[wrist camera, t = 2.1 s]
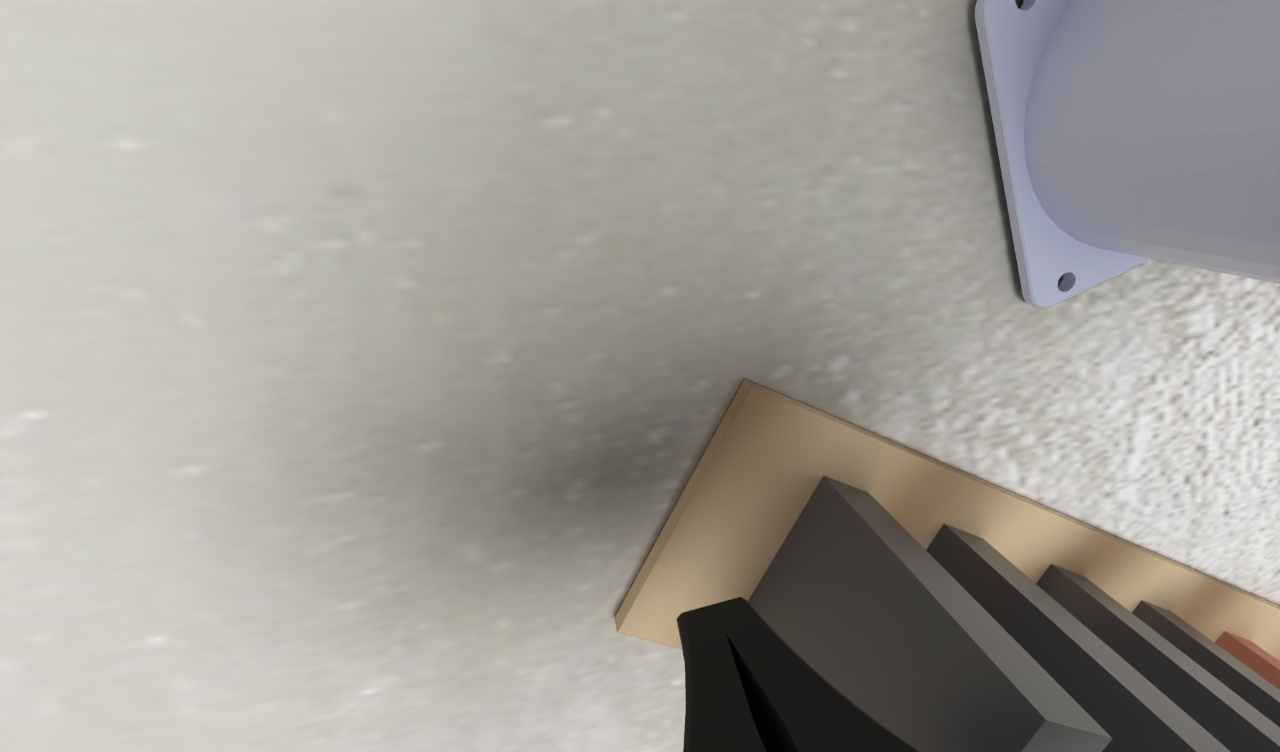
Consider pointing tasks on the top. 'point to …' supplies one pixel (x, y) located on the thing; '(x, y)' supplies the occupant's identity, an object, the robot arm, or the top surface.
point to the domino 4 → (1213, 659)
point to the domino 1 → (909, 636)
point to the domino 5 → (1251, 657)
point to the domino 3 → (1163, 664)
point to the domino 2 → (1070, 651)
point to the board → (914, 496)
